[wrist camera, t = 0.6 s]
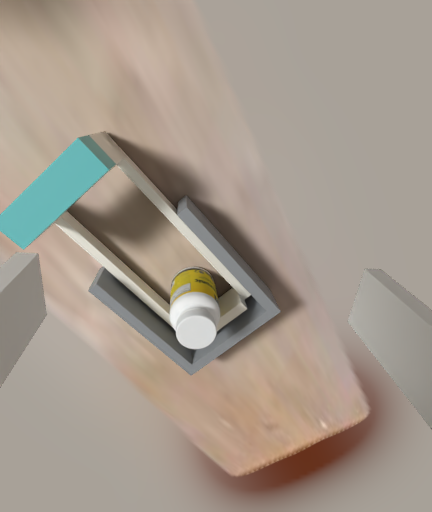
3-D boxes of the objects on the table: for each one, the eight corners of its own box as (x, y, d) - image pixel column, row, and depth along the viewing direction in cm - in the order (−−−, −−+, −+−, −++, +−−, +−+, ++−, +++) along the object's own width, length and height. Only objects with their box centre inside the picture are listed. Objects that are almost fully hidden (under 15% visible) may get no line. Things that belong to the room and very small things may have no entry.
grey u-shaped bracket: (99, 269, 38) (88, 290, 33) (186, 195, 35) (186, 207, 31) (190, 348, 44) (191, 375, 39) (270, 289, 41) (280, 311, 37)
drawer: (37, 196, 34) (-9, 223, 26) (105, 131, 32) (78, 137, 24) (188, 331, 42) (189, 383, 34) (247, 286, 40) (264, 330, 32)
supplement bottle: (223, 288, 41) (234, 337, 32) (188, 310, 42) (190, 364, 33) (198, 256, 39) (202, 300, 30) (162, 281, 39) (156, 330, 31)
